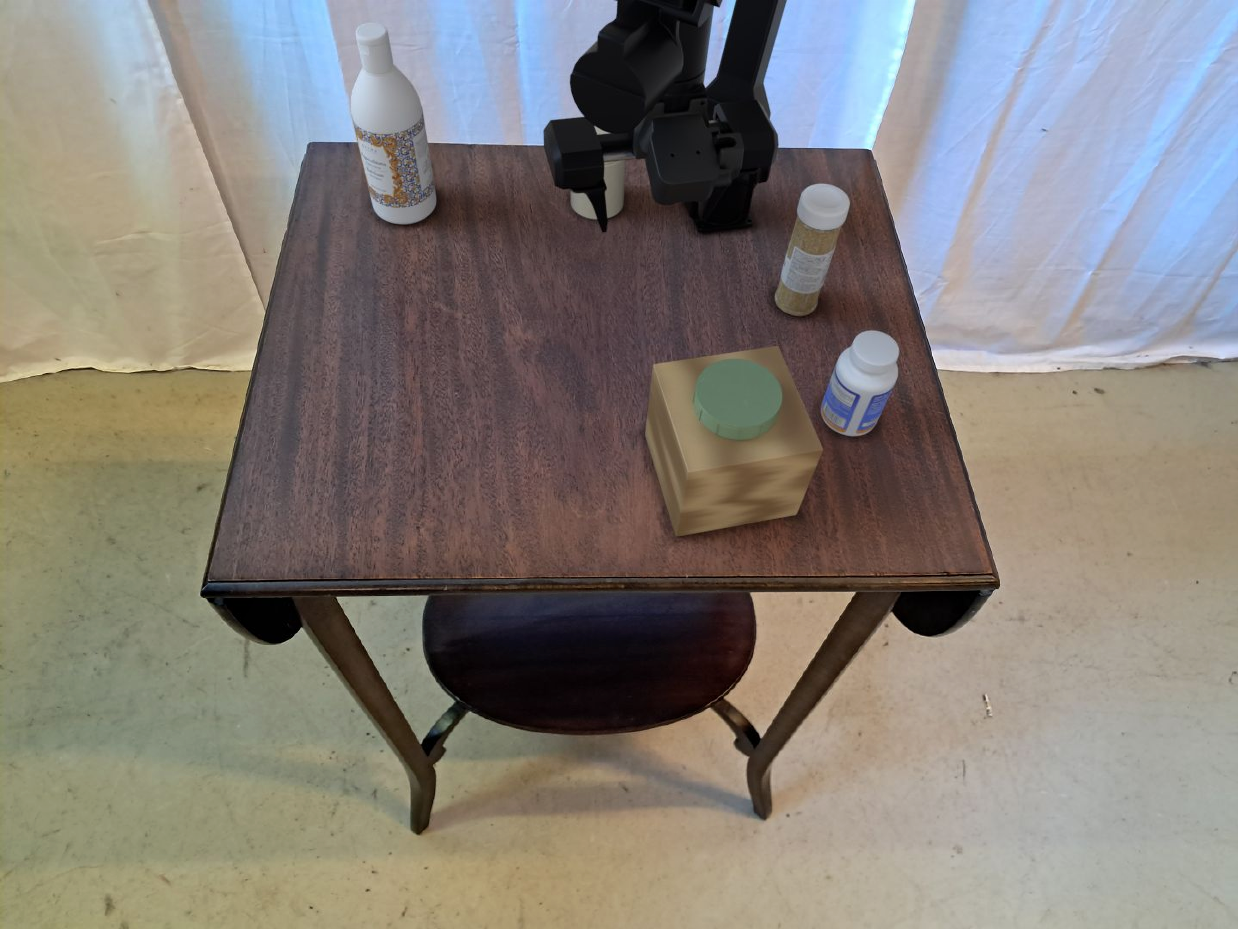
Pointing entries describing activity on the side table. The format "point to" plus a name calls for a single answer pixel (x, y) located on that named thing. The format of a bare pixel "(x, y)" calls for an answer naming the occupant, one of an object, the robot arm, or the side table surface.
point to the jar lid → (737, 399)
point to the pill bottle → (861, 384)
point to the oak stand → (727, 451)
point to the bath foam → (391, 133)
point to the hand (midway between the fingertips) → (652, 223)
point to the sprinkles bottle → (811, 248)
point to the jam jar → (613, 194)
